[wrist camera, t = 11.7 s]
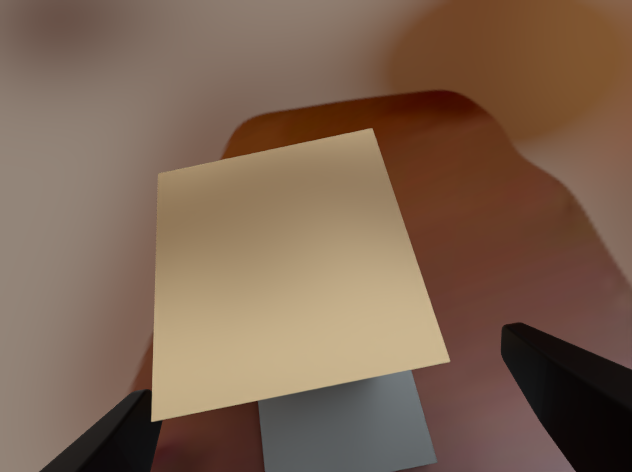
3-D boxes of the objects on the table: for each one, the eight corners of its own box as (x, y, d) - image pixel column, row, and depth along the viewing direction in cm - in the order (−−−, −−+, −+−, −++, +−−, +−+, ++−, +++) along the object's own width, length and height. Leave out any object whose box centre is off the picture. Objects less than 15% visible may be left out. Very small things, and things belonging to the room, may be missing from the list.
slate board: (431, 455, 15) (437, 462, 14) (273, 487, 15) (267, 496, 14) (361, 210, 21) (362, 202, 20) (246, 235, 21) (240, 228, 20)
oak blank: (379, 365, 16) (450, 361, 5) (285, 384, 16) (151, 421, 5) (357, 274, 18) (371, 128, 7) (273, 291, 18) (158, 173, 7)
